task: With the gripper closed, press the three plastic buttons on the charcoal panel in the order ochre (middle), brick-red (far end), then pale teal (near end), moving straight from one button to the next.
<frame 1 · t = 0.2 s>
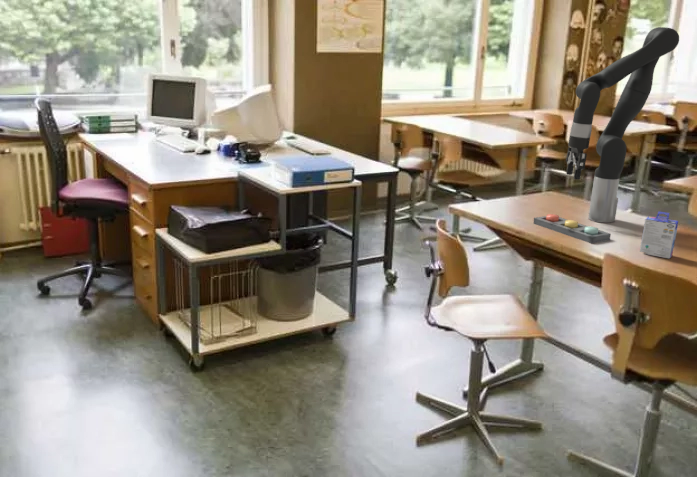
hand: (572, 176, 266), 17 cm above the table, tool pointing down, fingers open, 8 cm apart
button panel: (570, 233, 253), on the table
ink cartridge box: (655, 254, 232), on the table
teal button: (591, 231, 244), point 3 cm above the table, slide at 0.0 cm
ochre button: (571, 225, 252), point 3 cm above the table, slide at 0.0 cm
red button: (552, 218, 259), point 3 cm above the table, slide at 0.0 cm
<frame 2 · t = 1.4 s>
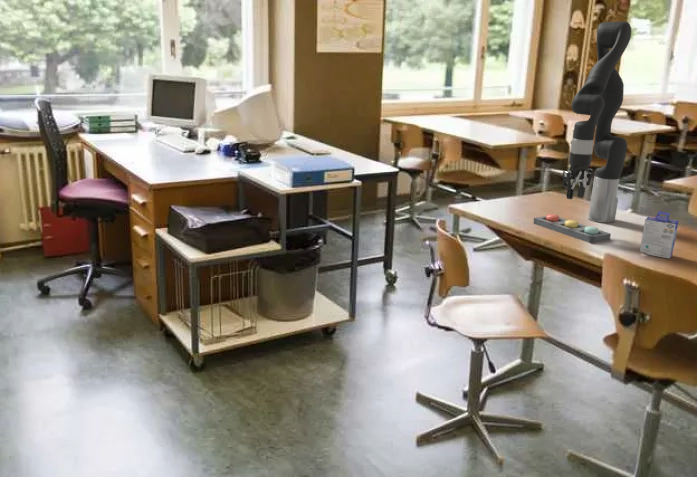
hand: (574, 197, 249), 13 cm above the table, tool pointing down, fingers open, 5 cm apart
nothing on the table moved.
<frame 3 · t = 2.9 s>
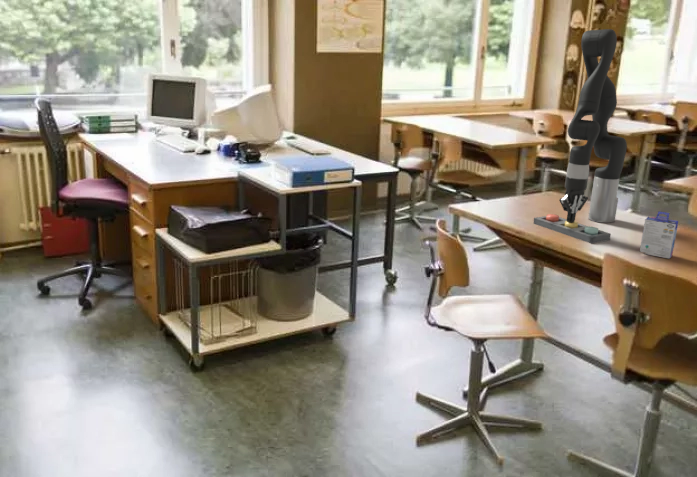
hand: (570, 222, 251), 4 cm above the table, tool pointing down, fingers closed
ochre button: (571, 225, 252), point 3 cm above the table, slide at 0.2 cm, touching gripper
everything else where it was.
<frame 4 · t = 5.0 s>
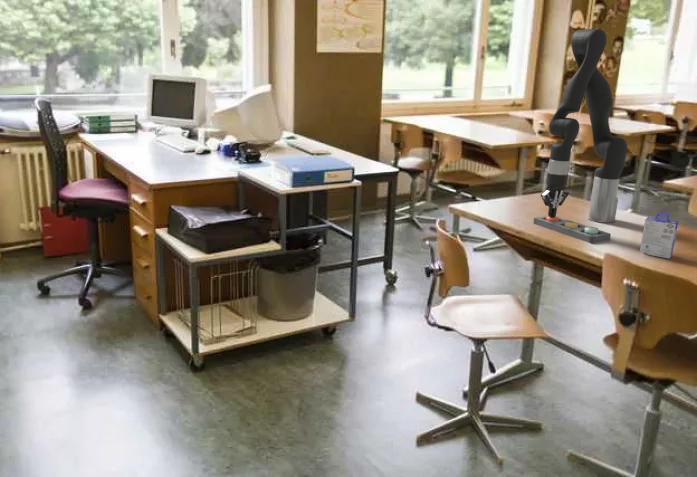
hand: (551, 216, 259), 4 cm above the table, tool pointing down, fingers closed
ochre button: (570, 226, 252), point 2 cm above the table, slide at 0.7 cm
red button: (552, 220, 259), point 3 cm above the table, slide at 0.5 cm
everything else where it was.
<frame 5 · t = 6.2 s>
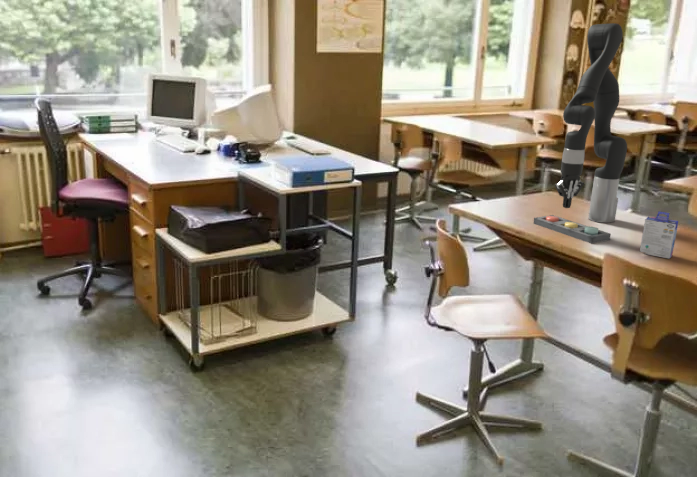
hand: (566, 207, 252), 9 cm above the table, tool pointing down, fingers closed
nothing on the table moved.
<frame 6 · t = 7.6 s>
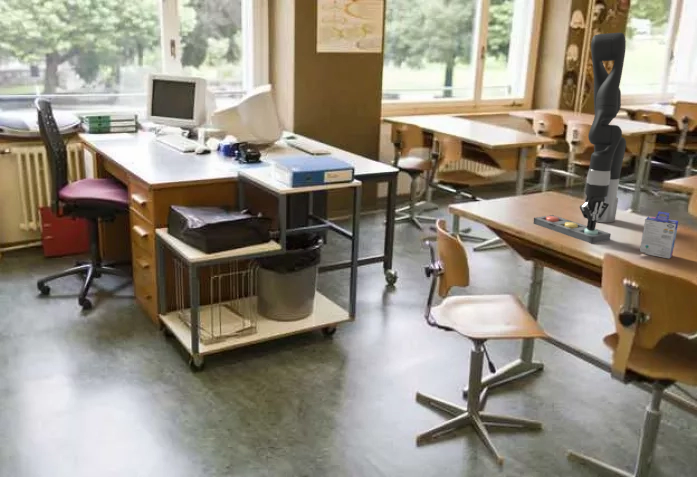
hand: (590, 229, 244), 4 cm above the table, tool pointing down, fingers closed
teal button: (590, 233, 245), point 3 cm above the table, slide at 0.6 cm
everything else where it was.
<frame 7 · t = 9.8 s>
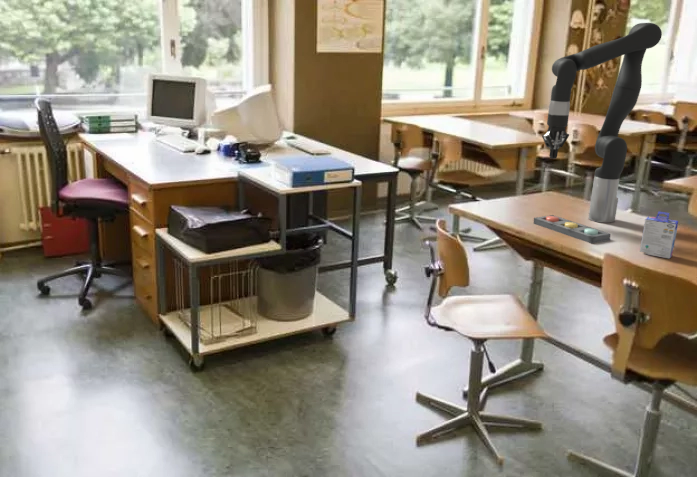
hand: (552, 158, 265), 24 cm above the table, tool pointing down, fingers closed
nothing on the table moved.
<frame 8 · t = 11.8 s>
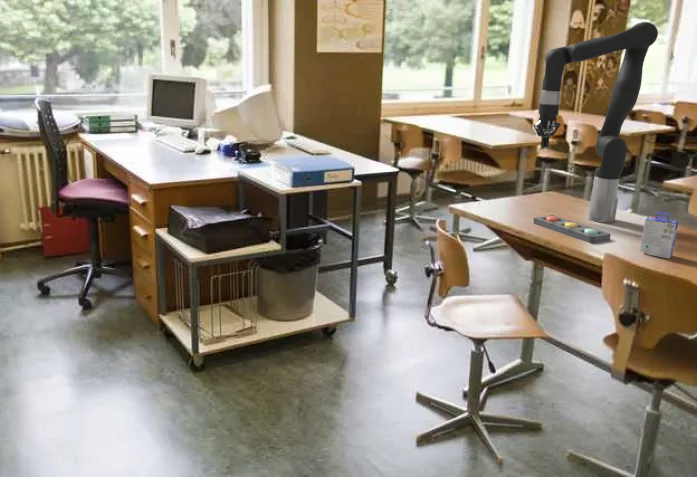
hand: (544, 147, 270), 27 cm above the table, tool pointing down, fingers closed
nothing on the table moved.
at the end: ochre button slide at 0.7 cm; red button slide at 0.7 cm; teal button slide at 0.7 cm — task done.
